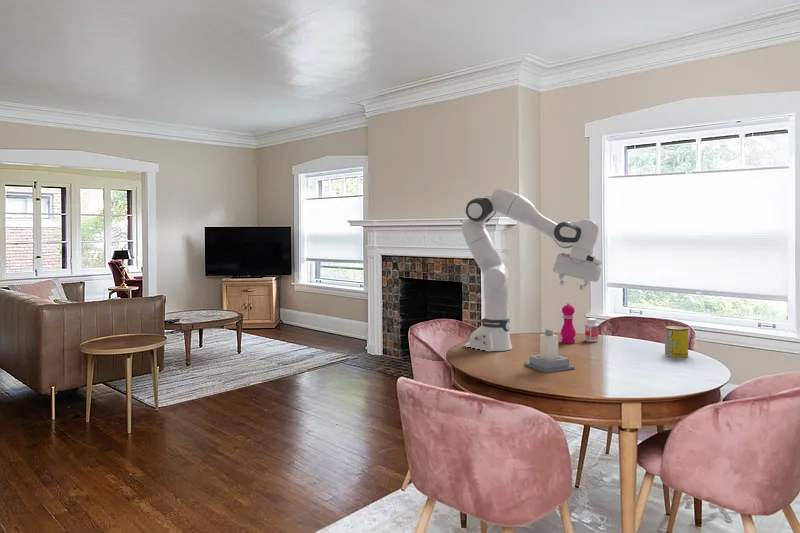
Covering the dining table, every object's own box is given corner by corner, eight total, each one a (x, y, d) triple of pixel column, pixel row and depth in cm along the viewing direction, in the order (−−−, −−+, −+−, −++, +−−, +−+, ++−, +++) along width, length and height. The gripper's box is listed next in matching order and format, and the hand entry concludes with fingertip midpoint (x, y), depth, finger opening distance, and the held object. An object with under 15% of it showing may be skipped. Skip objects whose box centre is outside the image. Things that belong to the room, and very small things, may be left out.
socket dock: (524, 365, 229) (524, 355, 229) (552, 361, 234) (552, 352, 234) (545, 372, 216) (545, 362, 216) (574, 369, 221) (574, 359, 221)
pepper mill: (576, 344, 271) (576, 302, 270) (561, 343, 272) (561, 302, 271) (575, 341, 278) (575, 301, 277) (559, 340, 279) (560, 301, 278)
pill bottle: (599, 340, 279) (599, 318, 278) (597, 342, 274) (597, 320, 273) (586, 339, 282) (586, 317, 281) (583, 341, 277) (584, 319, 276)
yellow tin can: (672, 352, 250) (672, 325, 249) (692, 355, 243) (692, 328, 242) (660, 354, 245) (661, 327, 244) (680, 358, 238) (681, 330, 237)
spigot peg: (540, 364, 227) (540, 329, 226) (550, 362, 229) (550, 328, 228) (547, 366, 222) (547, 331, 221) (558, 365, 224) (558, 330, 223)
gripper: (555, 250, 246) (546, 280, 246) (599, 259, 232) (590, 291, 232) (561, 253, 251) (552, 283, 251) (605, 262, 237) (596, 294, 237)
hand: (571, 287), depth 241 cm, fingers open, 8 cm apart
